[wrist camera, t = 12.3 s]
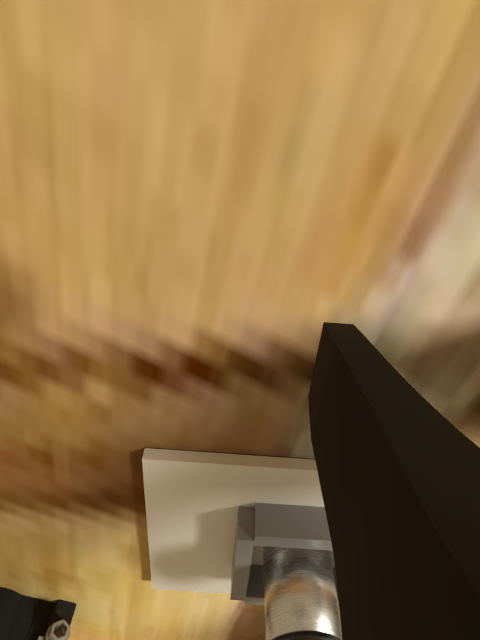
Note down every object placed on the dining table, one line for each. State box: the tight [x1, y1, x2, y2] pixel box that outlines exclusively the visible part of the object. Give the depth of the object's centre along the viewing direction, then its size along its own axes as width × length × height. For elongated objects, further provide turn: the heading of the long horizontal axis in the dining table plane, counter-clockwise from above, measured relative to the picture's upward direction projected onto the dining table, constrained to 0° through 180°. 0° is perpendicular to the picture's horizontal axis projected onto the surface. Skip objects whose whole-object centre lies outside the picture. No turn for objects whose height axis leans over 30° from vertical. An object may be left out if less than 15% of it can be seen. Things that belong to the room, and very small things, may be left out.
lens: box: [263, 546, 342, 640], centre depth 27 cm, size 4×4×7 cm
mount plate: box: [142, 448, 339, 605], centre depth 30 cm, size 20×15×3 cm
